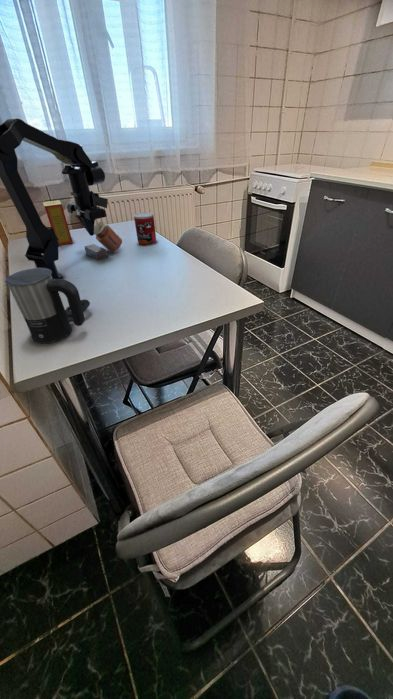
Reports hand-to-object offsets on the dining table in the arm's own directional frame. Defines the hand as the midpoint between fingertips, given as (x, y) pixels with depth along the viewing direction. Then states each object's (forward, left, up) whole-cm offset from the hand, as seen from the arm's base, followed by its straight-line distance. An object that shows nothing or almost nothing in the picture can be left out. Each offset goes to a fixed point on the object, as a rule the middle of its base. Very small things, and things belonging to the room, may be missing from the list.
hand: (91, 235), depth 109 cm
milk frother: (-40, +30, -8) cm, 51 cm away
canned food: (-2, -23, -8) cm, 24 cm away
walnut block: (0, 0, -8) cm, 8 cm away
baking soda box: (+28, +1, -8) cm, 29 cm away
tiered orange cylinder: (-1, -5, -7) cm, 9 cm away
